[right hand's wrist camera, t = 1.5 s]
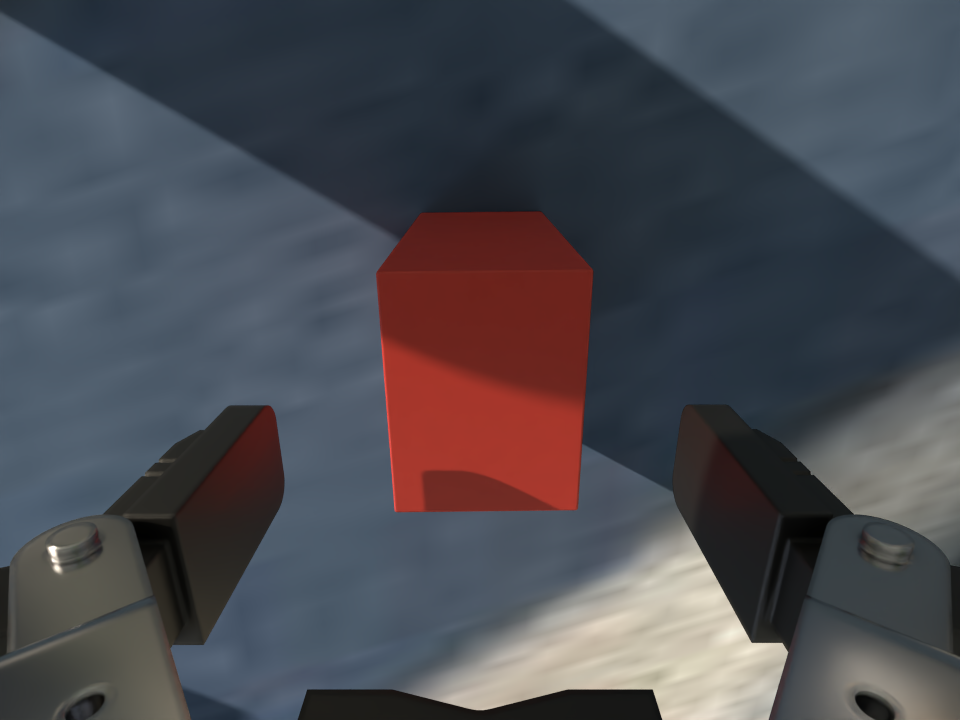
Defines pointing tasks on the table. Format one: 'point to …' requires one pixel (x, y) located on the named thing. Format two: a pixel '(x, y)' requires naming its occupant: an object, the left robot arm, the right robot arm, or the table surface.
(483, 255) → the brick
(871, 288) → the table surface
